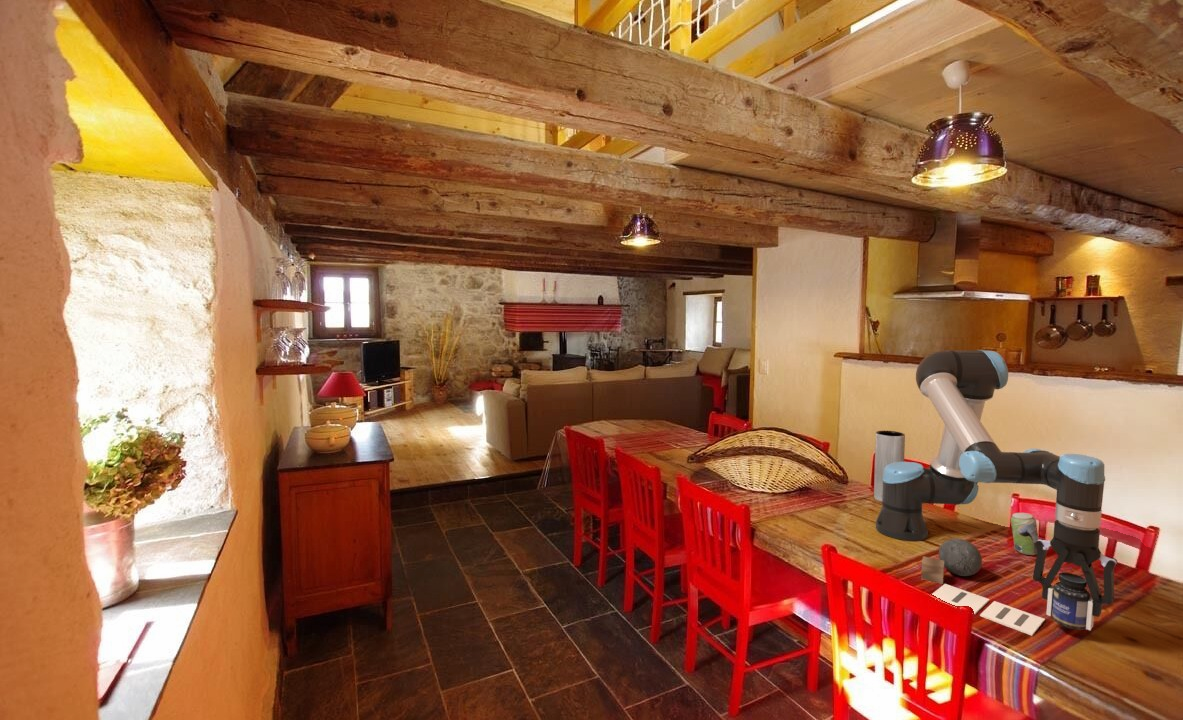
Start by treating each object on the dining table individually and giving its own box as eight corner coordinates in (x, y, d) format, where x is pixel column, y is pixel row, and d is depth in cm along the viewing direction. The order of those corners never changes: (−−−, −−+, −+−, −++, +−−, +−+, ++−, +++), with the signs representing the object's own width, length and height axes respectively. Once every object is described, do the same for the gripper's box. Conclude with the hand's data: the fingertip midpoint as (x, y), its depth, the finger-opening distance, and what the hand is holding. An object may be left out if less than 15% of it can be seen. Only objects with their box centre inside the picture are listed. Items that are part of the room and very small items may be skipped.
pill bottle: (1044, 616, 122) (1047, 571, 121) (1068, 614, 123) (1071, 569, 122) (1070, 632, 116) (1073, 585, 115) (1095, 630, 117) (1099, 583, 116)
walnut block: (921, 580, 144) (921, 563, 144) (922, 573, 148) (923, 556, 148) (942, 585, 141) (943, 567, 141) (943, 578, 145) (944, 560, 145)
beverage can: (1044, 558, 156) (1046, 519, 155) (1016, 556, 157) (1018, 517, 156) (1031, 548, 162) (1033, 511, 161) (1004, 547, 163) (1006, 510, 162)
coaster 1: (929, 597, 135) (929, 595, 135) (945, 585, 141) (945, 583, 141) (975, 614, 127) (975, 612, 127) (989, 600, 133) (989, 598, 133)
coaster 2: (979, 616, 126) (980, 614, 126) (994, 602, 132) (994, 600, 132) (1032, 635, 118) (1032, 633, 118) (1044, 620, 124) (1044, 618, 124)
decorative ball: (945, 580, 144) (947, 545, 143) (932, 564, 153) (933, 531, 152) (987, 584, 141) (989, 549, 140) (971, 567, 150) (973, 534, 150)
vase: (902, 505, 200) (904, 437, 198) (872, 501, 205) (874, 434, 203) (903, 498, 208) (905, 432, 206) (875, 493, 214) (876, 429, 212)
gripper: (1018, 514, 122) (1012, 607, 125) (1134, 543, 107) (1124, 648, 109) (1028, 507, 127) (1022, 596, 129) (1140, 533, 112) (1131, 634, 114)
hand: (1069, 620), depth 119 cm, fingers closed on pill bottle, 6 cm apart
